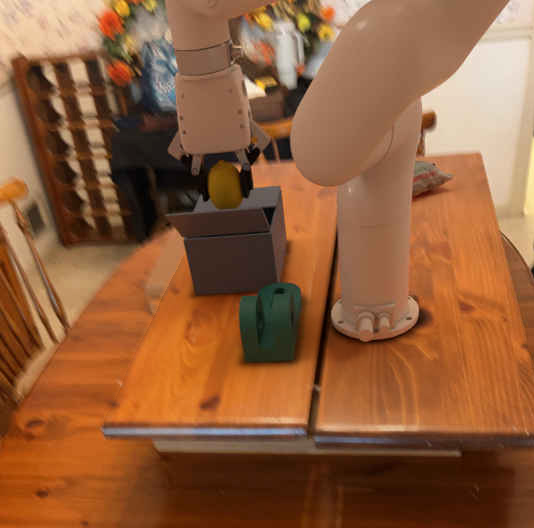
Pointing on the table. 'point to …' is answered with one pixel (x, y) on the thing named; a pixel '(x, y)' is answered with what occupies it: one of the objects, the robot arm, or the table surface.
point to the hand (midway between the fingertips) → (227, 195)
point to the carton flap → (219, 222)
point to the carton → (240, 250)
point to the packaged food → (428, 177)
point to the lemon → (225, 186)
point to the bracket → (270, 322)
